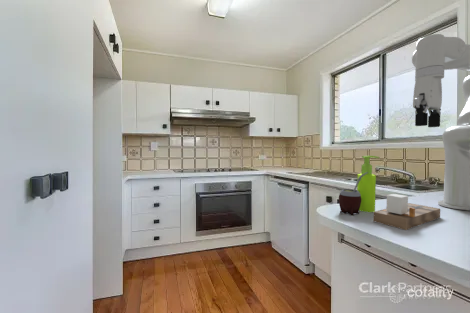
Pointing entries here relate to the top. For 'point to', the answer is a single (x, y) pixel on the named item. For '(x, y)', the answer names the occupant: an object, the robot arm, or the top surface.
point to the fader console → (407, 216)
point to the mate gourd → (350, 200)
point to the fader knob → (397, 204)
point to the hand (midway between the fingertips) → (427, 126)
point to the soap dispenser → (367, 186)
